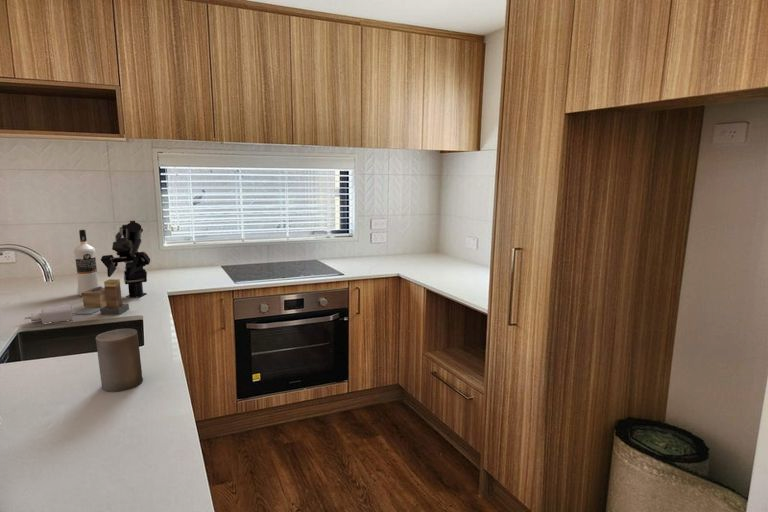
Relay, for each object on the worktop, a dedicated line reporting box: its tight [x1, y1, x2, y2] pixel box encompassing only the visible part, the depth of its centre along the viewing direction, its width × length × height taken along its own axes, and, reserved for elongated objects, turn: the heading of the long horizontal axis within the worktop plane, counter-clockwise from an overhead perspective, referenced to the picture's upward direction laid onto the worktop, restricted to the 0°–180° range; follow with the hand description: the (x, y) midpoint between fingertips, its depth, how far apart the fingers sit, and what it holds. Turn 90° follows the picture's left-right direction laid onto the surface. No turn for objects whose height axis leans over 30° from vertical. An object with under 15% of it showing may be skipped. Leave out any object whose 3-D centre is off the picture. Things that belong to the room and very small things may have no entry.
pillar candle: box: [95, 328, 144, 393], centre depth 128 cm, size 10×10×15 cm
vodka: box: [73, 229, 100, 297], centre depth 225 cm, size 9×9×30 cm
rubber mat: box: [72, 307, 100, 315], centre depth 198 cm, size 8×8×1 cm
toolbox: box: [80, 285, 107, 308], centre depth 207 cm, size 10×8×8 cm
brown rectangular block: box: [103, 278, 123, 308], centre depth 196 cm, size 4×4×13 cm
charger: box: [23, 304, 74, 324], centre depth 186 cm, size 5×9×15 cm
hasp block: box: [99, 303, 130, 316], centre depth 197 cm, size 7×7×2 cm
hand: (119, 275), depth 201 cm, fingers open, 9 cm apart
